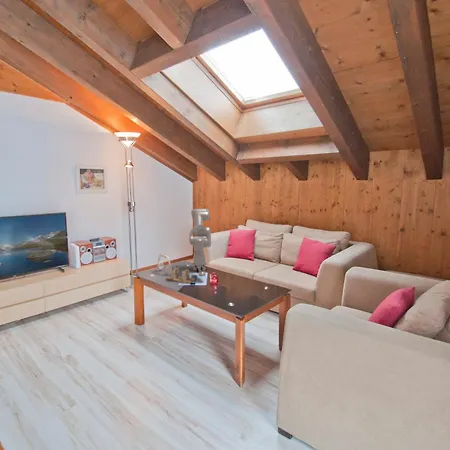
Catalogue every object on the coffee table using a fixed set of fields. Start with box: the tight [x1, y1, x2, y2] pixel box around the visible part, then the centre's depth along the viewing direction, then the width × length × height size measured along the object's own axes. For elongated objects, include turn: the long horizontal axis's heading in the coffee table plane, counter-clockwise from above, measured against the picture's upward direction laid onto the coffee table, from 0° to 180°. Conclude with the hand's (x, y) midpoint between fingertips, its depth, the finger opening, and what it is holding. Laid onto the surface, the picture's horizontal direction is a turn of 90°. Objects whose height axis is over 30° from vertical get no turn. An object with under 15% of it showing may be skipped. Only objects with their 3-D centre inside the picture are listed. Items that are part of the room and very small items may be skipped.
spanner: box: [195, 266, 206, 277], centre depth 294 cm, size 22×6×3 cm, turn 21°
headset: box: [156, 253, 173, 276], centre depth 311 cm, size 20×7×18 cm, turn 42°
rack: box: [165, 265, 196, 285], centre depth 290 cm, size 10×24×12 cm, turn 65°
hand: (199, 271), depth 294 cm, fingers closed on spanner, 3 cm apart
